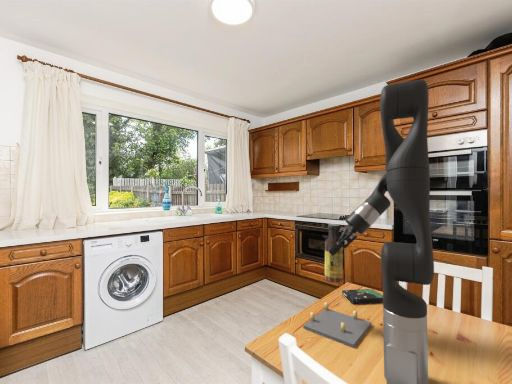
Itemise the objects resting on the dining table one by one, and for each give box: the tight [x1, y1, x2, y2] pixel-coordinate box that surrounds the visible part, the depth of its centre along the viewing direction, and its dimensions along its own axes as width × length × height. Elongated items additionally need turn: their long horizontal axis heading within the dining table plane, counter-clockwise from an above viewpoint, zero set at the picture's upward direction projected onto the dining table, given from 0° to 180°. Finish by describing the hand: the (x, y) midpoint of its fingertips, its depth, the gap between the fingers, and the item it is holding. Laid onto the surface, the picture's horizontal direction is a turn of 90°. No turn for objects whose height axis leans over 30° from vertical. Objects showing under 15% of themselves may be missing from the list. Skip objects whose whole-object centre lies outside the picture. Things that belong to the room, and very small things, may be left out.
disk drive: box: [341, 288, 383, 306], centre depth 109 cm, size 10×3×15 cm
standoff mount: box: [302, 301, 373, 349], centre depth 86 cm, size 17×17×4 cm
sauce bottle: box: [324, 223, 344, 284], centre depth 90 cm, size 6×6×20 cm
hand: (328, 251), depth 90 cm, fingers closed on sauce bottle, 6 cm apart
